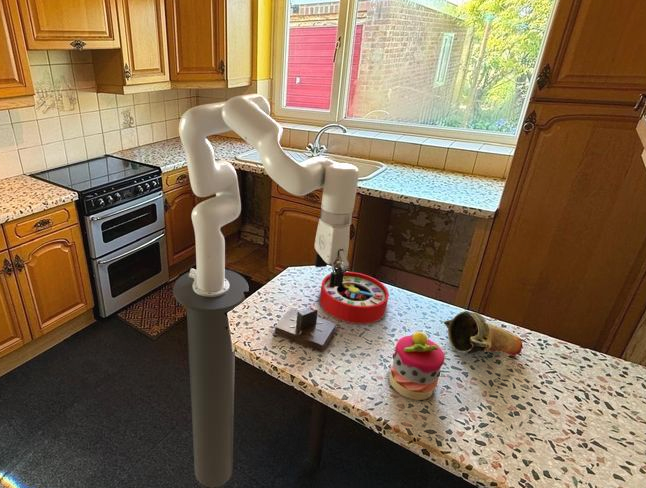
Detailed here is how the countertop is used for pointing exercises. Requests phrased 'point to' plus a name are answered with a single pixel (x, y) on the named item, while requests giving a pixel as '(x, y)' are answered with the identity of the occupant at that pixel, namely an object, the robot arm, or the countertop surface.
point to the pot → (480, 335)
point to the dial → (306, 317)
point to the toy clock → (355, 298)
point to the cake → (416, 366)
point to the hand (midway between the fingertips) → (327, 275)
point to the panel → (306, 331)
